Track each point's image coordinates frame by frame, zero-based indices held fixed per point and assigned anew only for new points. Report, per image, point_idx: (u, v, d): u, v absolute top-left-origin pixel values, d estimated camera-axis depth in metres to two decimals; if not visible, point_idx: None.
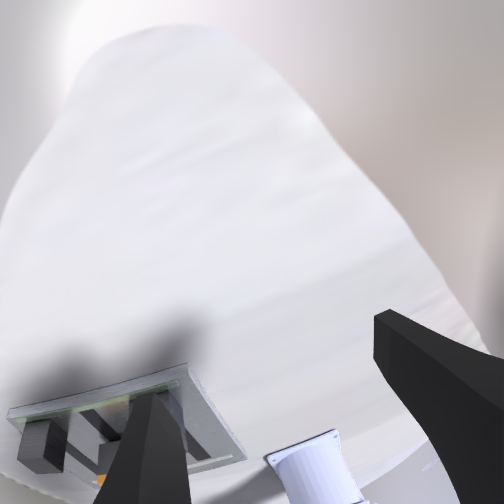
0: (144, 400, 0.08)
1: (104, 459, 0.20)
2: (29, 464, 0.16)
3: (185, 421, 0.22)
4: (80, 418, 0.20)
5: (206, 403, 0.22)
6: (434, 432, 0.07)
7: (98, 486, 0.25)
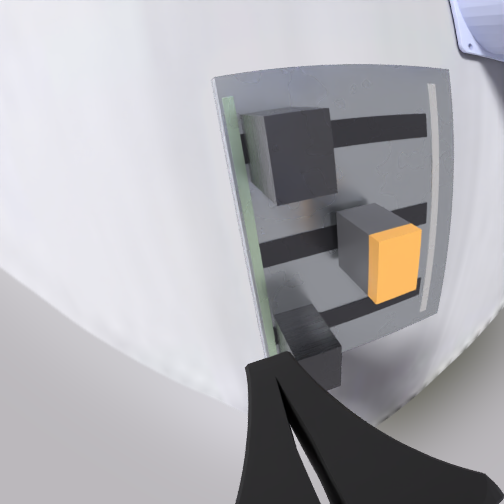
0: (260, 367, 0.09)
1: (353, 269, 0.16)
2: None
3: None
4: (278, 270, 0.17)
5: (289, 68, 0.13)
6: (325, 487, 0.07)
7: (434, 306, 0.22)
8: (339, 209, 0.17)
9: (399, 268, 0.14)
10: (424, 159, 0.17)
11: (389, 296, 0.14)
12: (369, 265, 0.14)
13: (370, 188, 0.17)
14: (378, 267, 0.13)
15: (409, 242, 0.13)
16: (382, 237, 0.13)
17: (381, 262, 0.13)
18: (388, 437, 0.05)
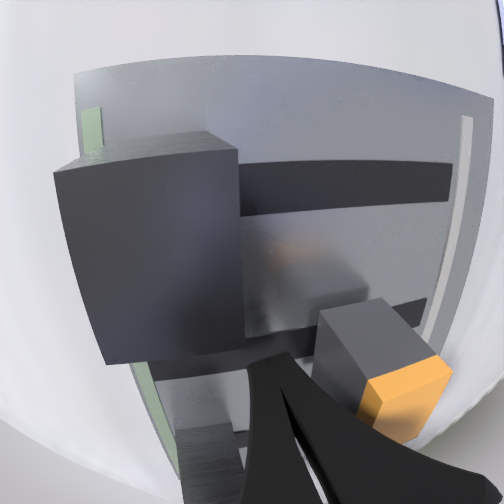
0: (261, 366, 0.09)
1: None
2: None
3: (273, 146, 0.08)
4: (178, 385, 0.11)
5: (213, 58, 0.07)
6: (323, 488, 0.07)
7: None
8: (282, 311, 0.10)
9: (403, 423, 0.07)
10: (437, 236, 0.11)
11: None
12: (357, 416, 0.08)
13: (342, 280, 0.10)
14: None
15: (430, 391, 0.07)
16: (390, 390, 0.07)
17: (378, 423, 0.07)
18: (386, 438, 0.05)
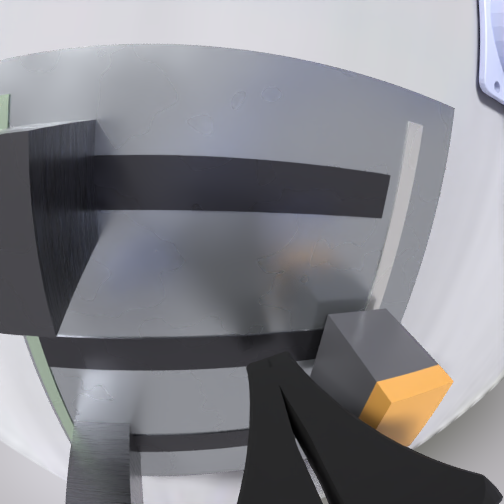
0: (261, 366, 0.09)
1: None
2: None
3: (161, 139, 0.07)
4: (72, 375, 0.10)
5: (111, 47, 0.06)
6: (323, 488, 0.07)
7: None
8: (171, 316, 0.09)
9: (402, 428, 0.08)
10: (365, 257, 0.10)
11: None
12: (360, 418, 0.08)
13: (239, 292, 0.10)
14: None
15: (431, 398, 0.07)
16: (397, 393, 0.07)
17: (382, 426, 0.07)
18: (386, 438, 0.05)
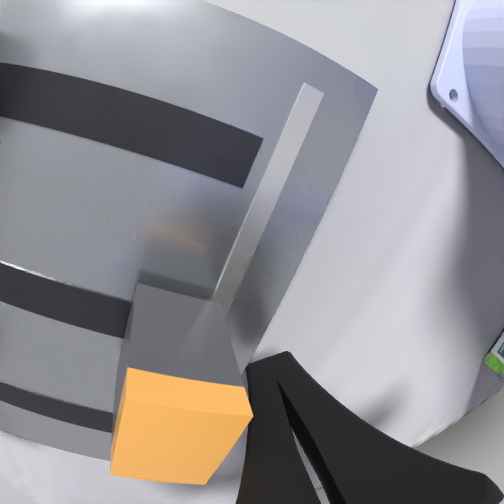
0: (260, 367, 0.09)
1: (115, 391, 0.08)
2: None
3: (30, 51, 0.05)
4: None
5: None
6: (324, 487, 0.07)
7: None
8: None
9: (171, 453, 0.06)
10: (215, 232, 0.09)
11: (141, 476, 0.06)
12: (117, 414, 0.06)
13: (61, 228, 0.08)
14: (119, 434, 0.05)
15: (211, 426, 0.06)
16: (146, 392, 0.05)
17: (127, 431, 0.05)
18: (387, 437, 0.05)
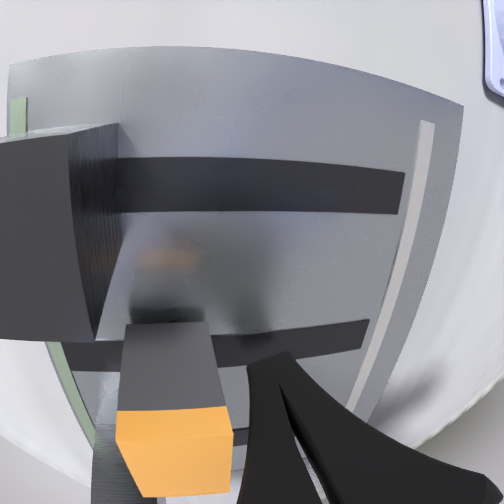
0: (261, 367, 0.09)
1: None
2: None
3: (185, 141, 0.08)
4: (94, 379, 0.10)
5: (132, 49, 0.06)
6: (324, 487, 0.07)
7: None
8: (196, 316, 0.10)
9: (180, 473, 0.06)
10: (382, 252, 0.10)
11: (168, 494, 0.07)
12: None
13: (263, 290, 0.10)
14: (128, 466, 0.06)
15: (200, 448, 0.06)
16: (132, 431, 0.06)
17: (133, 463, 0.06)
18: (387, 438, 0.05)
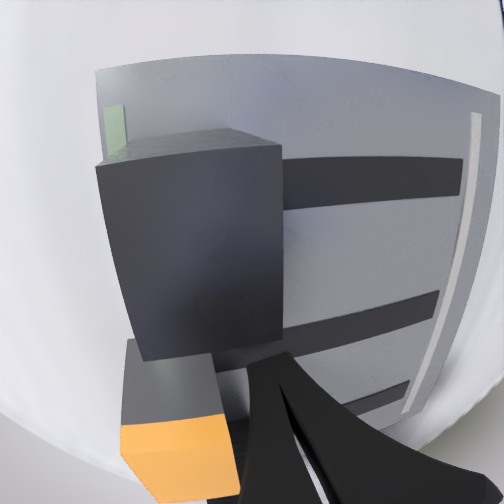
0: (261, 366, 0.09)
1: None
2: None
3: (294, 143, 0.08)
4: None
5: (236, 57, 0.07)
6: (324, 487, 0.07)
7: (419, 405, 0.16)
8: (303, 305, 0.10)
9: (189, 480, 0.06)
10: (449, 229, 0.11)
11: (182, 499, 0.07)
12: None
13: (360, 274, 0.10)
14: (138, 476, 0.06)
15: (202, 456, 0.06)
16: (135, 444, 0.06)
17: (141, 473, 0.06)
18: (387, 438, 0.05)
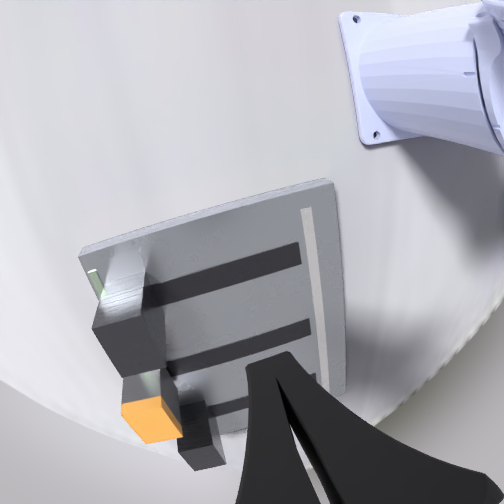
0: (260, 367, 0.09)
1: None
2: (203, 465, 0.19)
3: (177, 270, 0.17)
4: None
5: (137, 238, 0.16)
6: (325, 487, 0.07)
7: (340, 389, 0.25)
8: (210, 339, 0.19)
9: (153, 427, 0.15)
10: (300, 284, 0.19)
11: (155, 440, 0.16)
12: None
13: (238, 320, 0.19)
14: (131, 426, 0.15)
15: (153, 414, 0.15)
16: (127, 410, 0.15)
17: (132, 424, 0.15)
18: (388, 437, 0.05)
